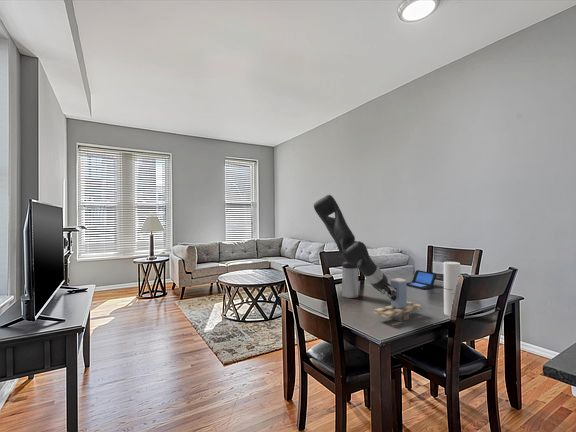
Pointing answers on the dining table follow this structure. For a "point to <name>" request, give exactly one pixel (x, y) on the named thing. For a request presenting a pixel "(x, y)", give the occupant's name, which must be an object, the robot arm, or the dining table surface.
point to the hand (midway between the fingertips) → (394, 299)
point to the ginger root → (397, 311)
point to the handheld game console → (422, 280)
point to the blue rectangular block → (399, 293)
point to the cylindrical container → (450, 284)
